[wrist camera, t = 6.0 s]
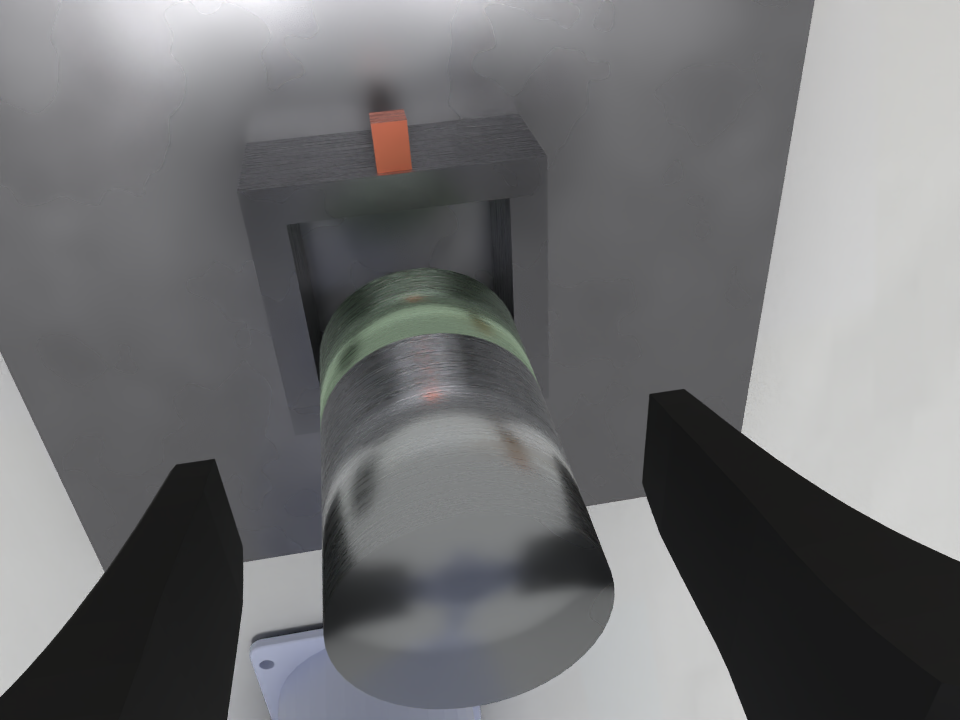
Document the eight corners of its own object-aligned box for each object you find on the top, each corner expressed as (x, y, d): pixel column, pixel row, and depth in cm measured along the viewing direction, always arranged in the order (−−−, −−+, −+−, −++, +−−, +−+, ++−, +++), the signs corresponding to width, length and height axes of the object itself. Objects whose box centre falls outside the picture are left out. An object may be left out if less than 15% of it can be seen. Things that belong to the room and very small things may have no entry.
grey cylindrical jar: (520, 419, 18) (609, 681, 12) (336, 447, 17) (347, 730, 12) (515, 255, 15) (620, 491, 10) (303, 282, 15) (298, 543, 10)
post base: (718, 458, 28) (770, 544, 25) (117, 554, 26) (90, 662, 23) (829, -277, 17) (956, -297, 13) (-230, -215, 14) (-386, -219, 11)
